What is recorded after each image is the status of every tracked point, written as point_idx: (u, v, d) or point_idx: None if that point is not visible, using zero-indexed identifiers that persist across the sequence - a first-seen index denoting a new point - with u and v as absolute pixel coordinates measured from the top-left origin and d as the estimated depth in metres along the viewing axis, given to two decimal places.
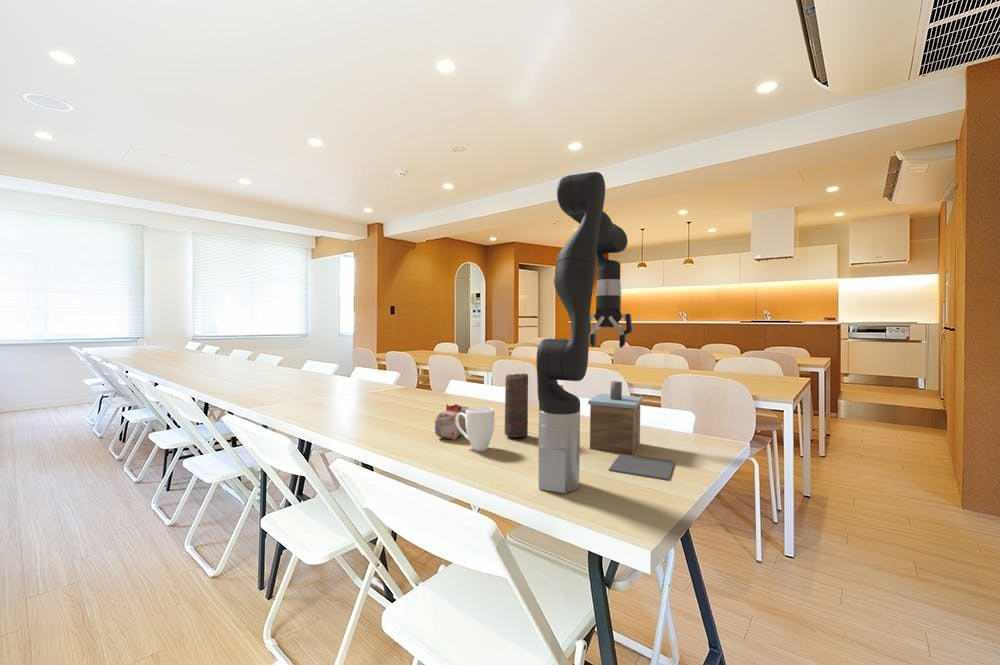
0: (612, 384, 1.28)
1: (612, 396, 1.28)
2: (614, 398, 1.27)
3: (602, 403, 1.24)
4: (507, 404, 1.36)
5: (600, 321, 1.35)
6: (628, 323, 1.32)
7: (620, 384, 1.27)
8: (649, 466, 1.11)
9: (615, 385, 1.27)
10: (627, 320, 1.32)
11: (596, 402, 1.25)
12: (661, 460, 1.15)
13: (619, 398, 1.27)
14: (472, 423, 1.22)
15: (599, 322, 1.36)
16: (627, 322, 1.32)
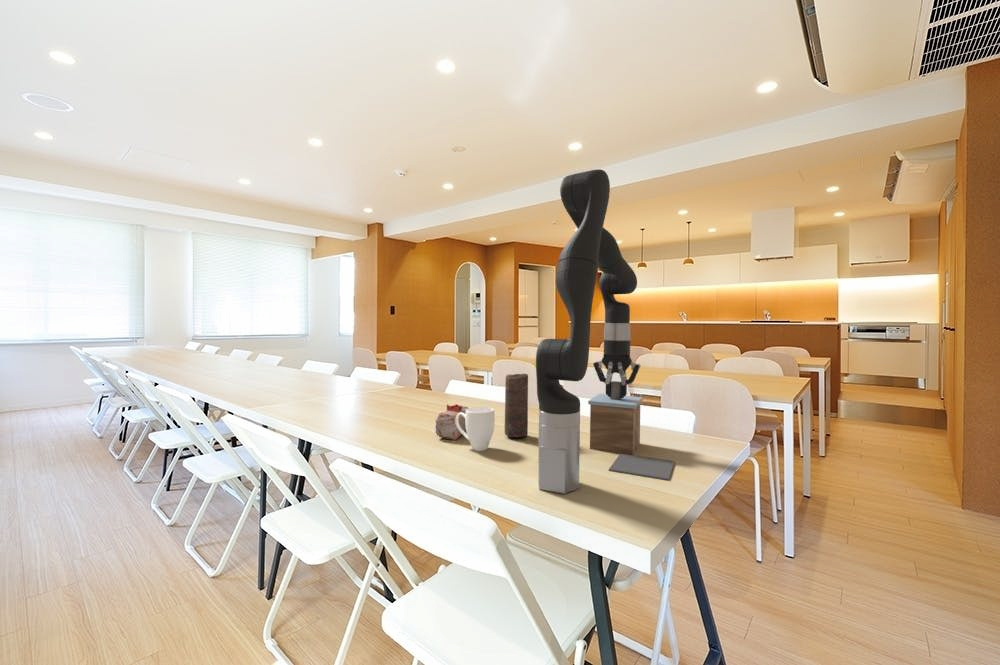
0: (612, 384, 1.28)
1: (612, 396, 1.28)
2: (614, 398, 1.27)
3: (602, 403, 1.24)
4: (507, 404, 1.36)
5: (610, 367, 1.27)
6: (633, 375, 1.25)
7: (620, 384, 1.27)
8: (649, 466, 1.11)
9: (615, 385, 1.27)
10: (634, 371, 1.25)
11: (596, 402, 1.25)
12: (661, 460, 1.15)
13: (619, 398, 1.27)
14: (473, 423, 1.22)
15: (610, 369, 1.27)
16: (632, 373, 1.25)
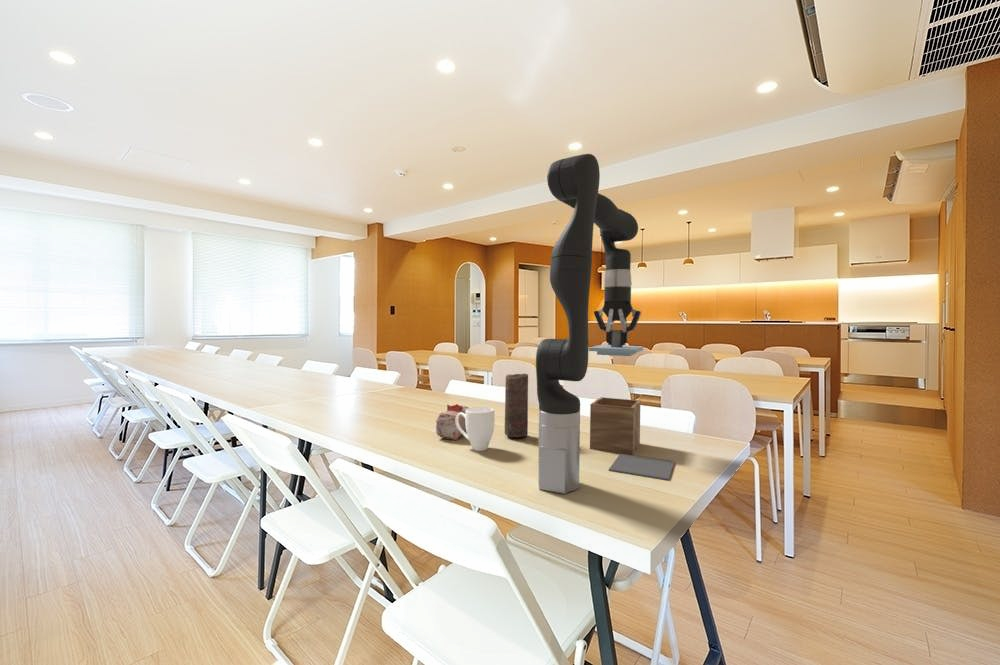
0: (613, 332, 1.27)
1: (613, 344, 1.27)
2: (615, 345, 1.27)
3: (603, 349, 1.23)
4: (507, 404, 1.36)
5: (611, 315, 1.27)
6: (634, 321, 1.24)
7: (621, 331, 1.27)
8: (649, 466, 1.11)
9: (616, 332, 1.27)
10: (635, 317, 1.24)
11: (597, 348, 1.24)
12: (661, 460, 1.15)
13: (620, 345, 1.27)
14: (473, 423, 1.22)
15: (610, 316, 1.27)
16: (633, 319, 1.24)
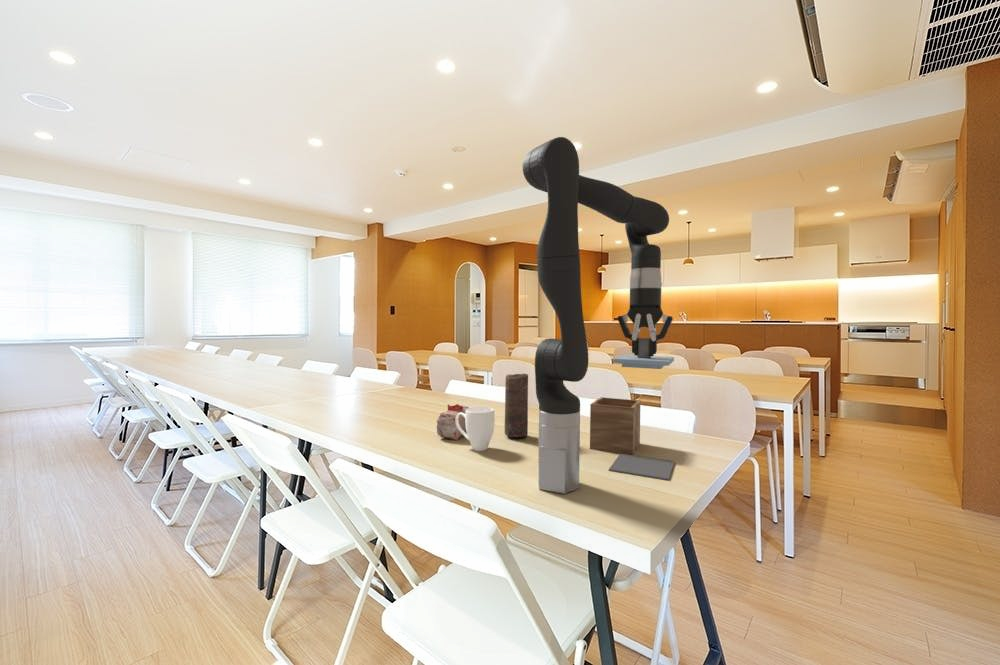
0: (640, 340, 1.10)
1: (640, 354, 1.10)
2: (642, 356, 1.09)
3: (629, 361, 1.06)
4: (507, 404, 1.36)
5: (638, 320, 1.09)
6: (665, 328, 1.07)
7: (649, 340, 1.09)
8: (649, 466, 1.11)
9: (643, 341, 1.09)
10: (666, 324, 1.07)
11: (622, 360, 1.07)
12: (661, 460, 1.15)
13: (648, 356, 1.09)
14: (472, 423, 1.22)
15: (637, 322, 1.09)
16: (664, 326, 1.07)
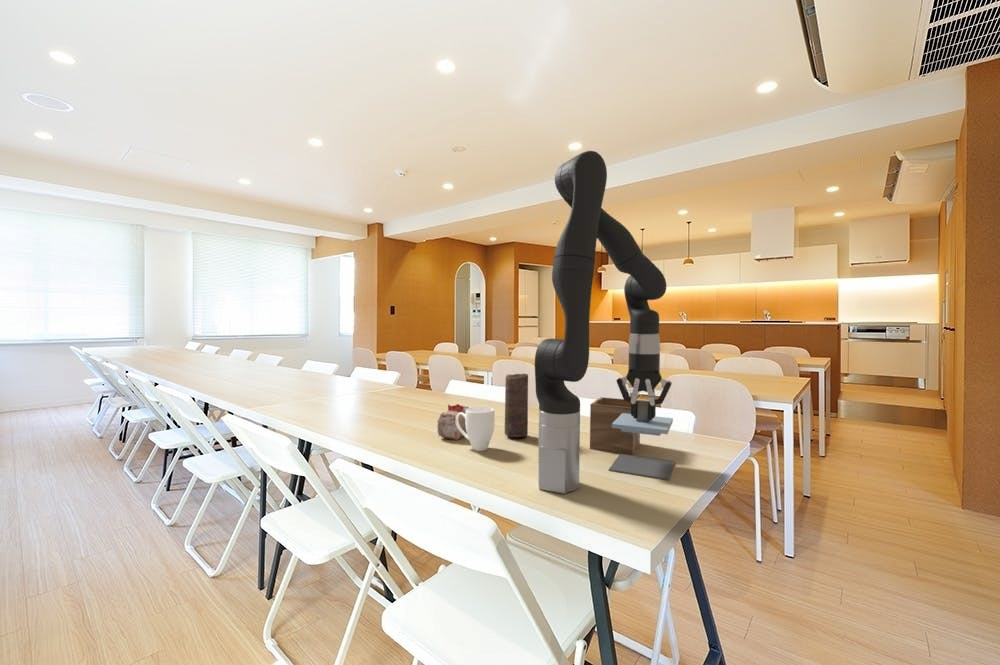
0: (639, 404, 1.10)
1: (639, 418, 1.11)
2: (641, 420, 1.10)
3: (628, 427, 1.07)
4: (507, 404, 1.36)
5: (637, 385, 1.10)
6: (664, 394, 1.08)
7: (648, 404, 1.10)
8: (649, 466, 1.11)
9: (642, 405, 1.10)
10: (665, 389, 1.08)
11: (621, 426, 1.08)
12: (661, 460, 1.15)
13: (647, 420, 1.10)
14: (473, 423, 1.22)
15: (636, 386, 1.10)
16: (663, 391, 1.08)
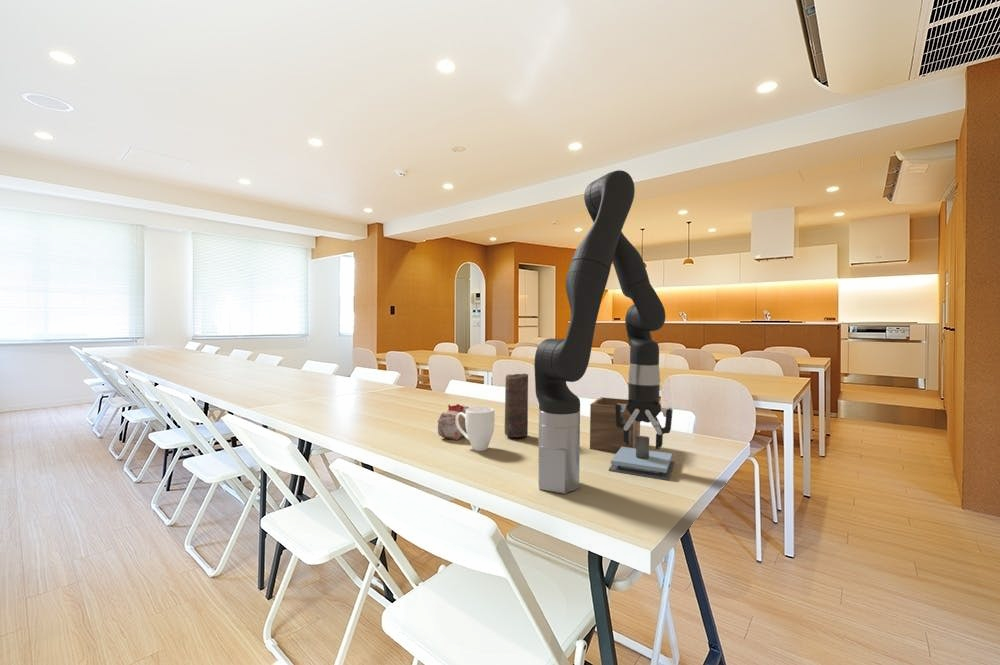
0: (638, 440, 1.11)
1: (638, 454, 1.11)
2: (640, 456, 1.10)
3: (627, 464, 1.07)
4: (507, 404, 1.36)
5: (635, 415, 1.11)
6: (668, 422, 1.07)
7: (647, 440, 1.10)
8: None
9: (642, 442, 1.10)
10: (667, 417, 1.08)
11: (620, 462, 1.08)
12: None
13: (646, 456, 1.10)
14: (473, 423, 1.22)
15: (634, 416, 1.11)
16: (666, 420, 1.08)
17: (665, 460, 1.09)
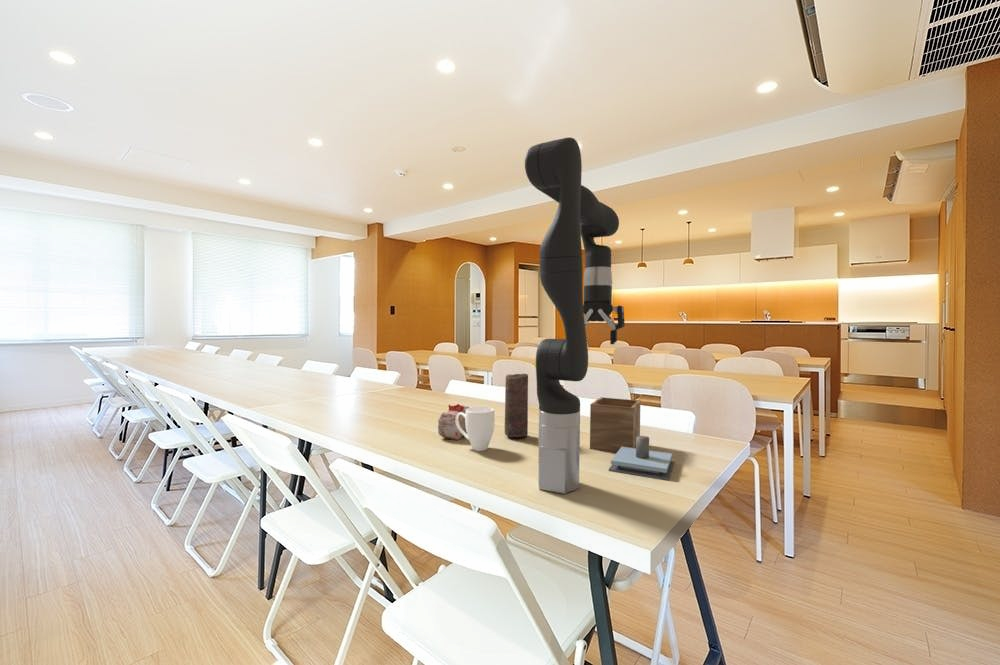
0: (638, 440, 1.11)
1: (638, 454, 1.11)
2: (640, 456, 1.10)
3: (627, 464, 1.07)
4: (507, 404, 1.36)
5: (588, 314, 1.20)
6: (620, 317, 1.16)
7: (647, 440, 1.10)
8: None
9: (642, 442, 1.10)
10: (619, 313, 1.16)
11: (620, 462, 1.08)
12: None
13: (646, 456, 1.10)
14: (473, 423, 1.22)
15: (587, 316, 1.20)
16: (618, 316, 1.16)
17: (665, 460, 1.09)
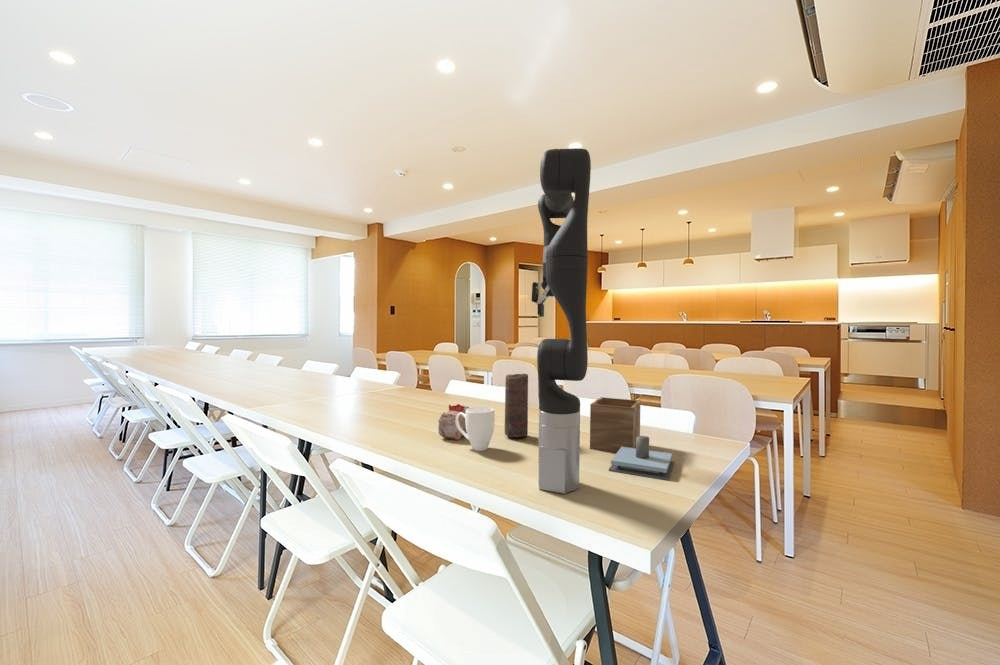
0: (638, 440, 1.11)
1: (638, 454, 1.11)
2: (640, 456, 1.10)
3: (627, 464, 1.07)
4: (507, 404, 1.36)
5: (547, 290, 1.29)
6: None
7: (647, 440, 1.10)
8: None
9: (642, 442, 1.10)
10: None
11: (620, 462, 1.08)
12: None
13: (646, 456, 1.10)
14: (473, 423, 1.22)
15: (546, 291, 1.29)
16: None
17: (665, 460, 1.09)
